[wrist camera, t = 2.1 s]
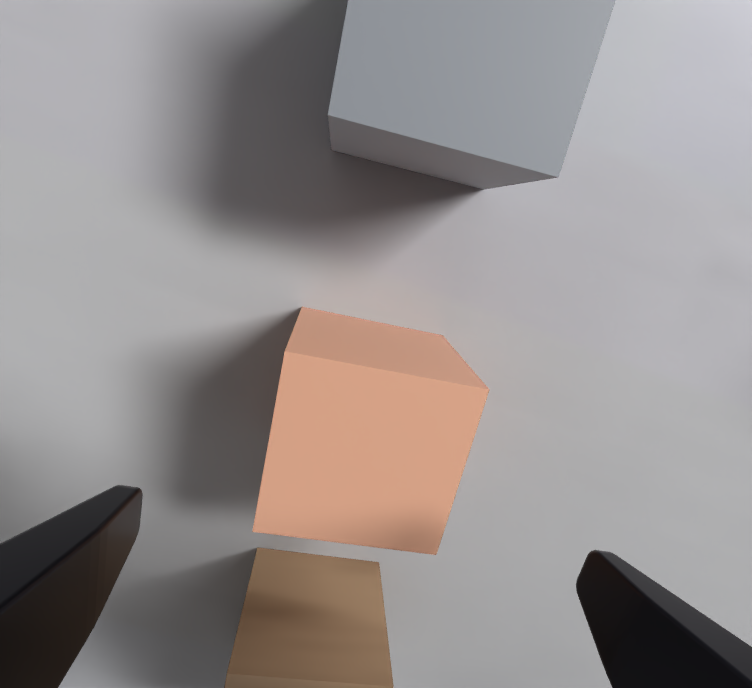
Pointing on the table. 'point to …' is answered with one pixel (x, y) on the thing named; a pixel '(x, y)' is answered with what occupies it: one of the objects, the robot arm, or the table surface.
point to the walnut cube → (311, 624)
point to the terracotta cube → (367, 434)
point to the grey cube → (465, 85)
